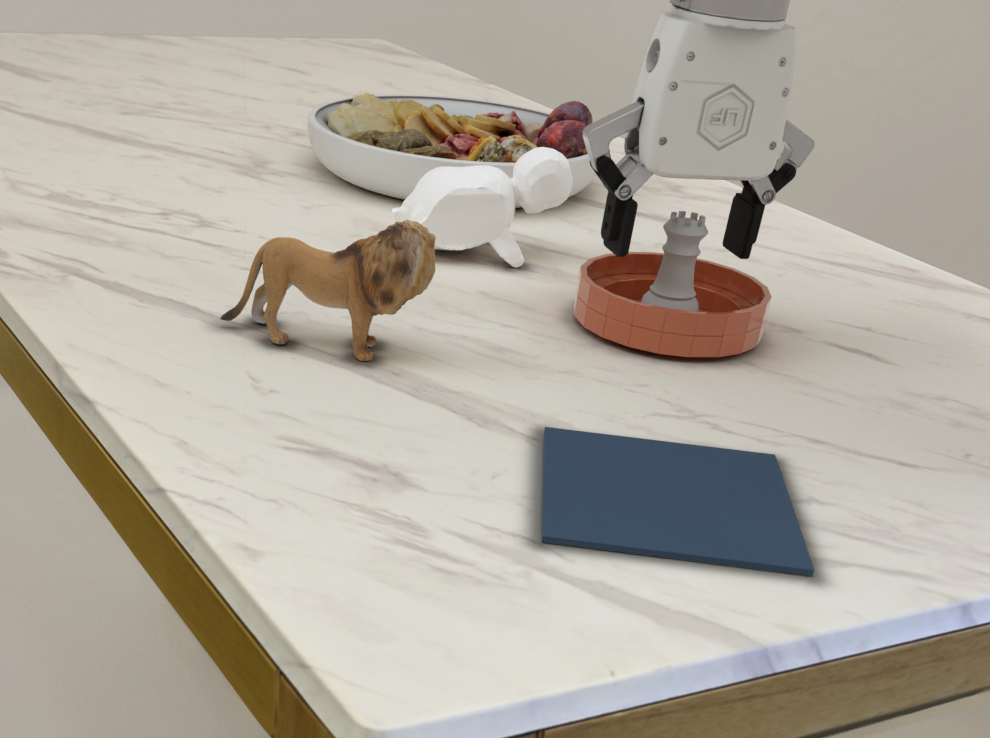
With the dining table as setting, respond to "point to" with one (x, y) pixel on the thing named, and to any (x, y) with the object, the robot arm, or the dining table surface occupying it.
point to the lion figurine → (343, 278)
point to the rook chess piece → (678, 264)
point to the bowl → (439, 138)
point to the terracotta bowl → (707, 333)
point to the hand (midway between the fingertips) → (675, 252)
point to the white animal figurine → (486, 201)
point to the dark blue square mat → (669, 501)
